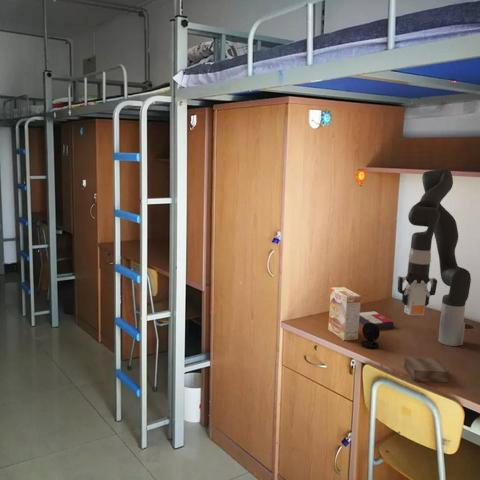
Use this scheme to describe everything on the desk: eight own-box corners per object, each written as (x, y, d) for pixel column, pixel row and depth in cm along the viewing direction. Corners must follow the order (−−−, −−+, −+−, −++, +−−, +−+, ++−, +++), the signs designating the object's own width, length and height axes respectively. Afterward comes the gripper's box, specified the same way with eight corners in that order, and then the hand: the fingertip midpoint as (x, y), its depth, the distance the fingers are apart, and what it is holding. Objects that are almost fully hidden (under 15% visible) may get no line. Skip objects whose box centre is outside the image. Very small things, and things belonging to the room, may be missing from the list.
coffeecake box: (327, 329, 246) (330, 287, 243) (341, 328, 248) (344, 286, 245) (343, 340, 232) (346, 296, 229) (358, 339, 234) (361, 295, 231)
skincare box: (409, 315, 200) (413, 283, 198) (403, 312, 204) (406, 281, 202) (424, 315, 202) (428, 283, 200) (418, 311, 206) (421, 280, 204)
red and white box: (374, 323, 247) (355, 311, 261) (373, 332, 248) (355, 320, 262) (394, 321, 251) (375, 310, 265) (393, 329, 252) (374, 318, 265)
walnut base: (435, 368, 205) (437, 358, 205) (447, 382, 194) (448, 371, 193) (403, 367, 206) (404, 357, 205) (413, 380, 194) (414, 370, 193)
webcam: (382, 346, 227) (384, 323, 225) (372, 350, 222) (374, 327, 220) (366, 341, 233) (368, 318, 231) (356, 345, 228) (358, 322, 226)
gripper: (436, 260, 203) (431, 303, 206) (397, 258, 204) (393, 301, 207) (442, 264, 196) (437, 309, 199) (402, 262, 196) (397, 306, 199)
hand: (414, 305), depth 203 cm, fingers closed on skincare box, 7 cm apart
